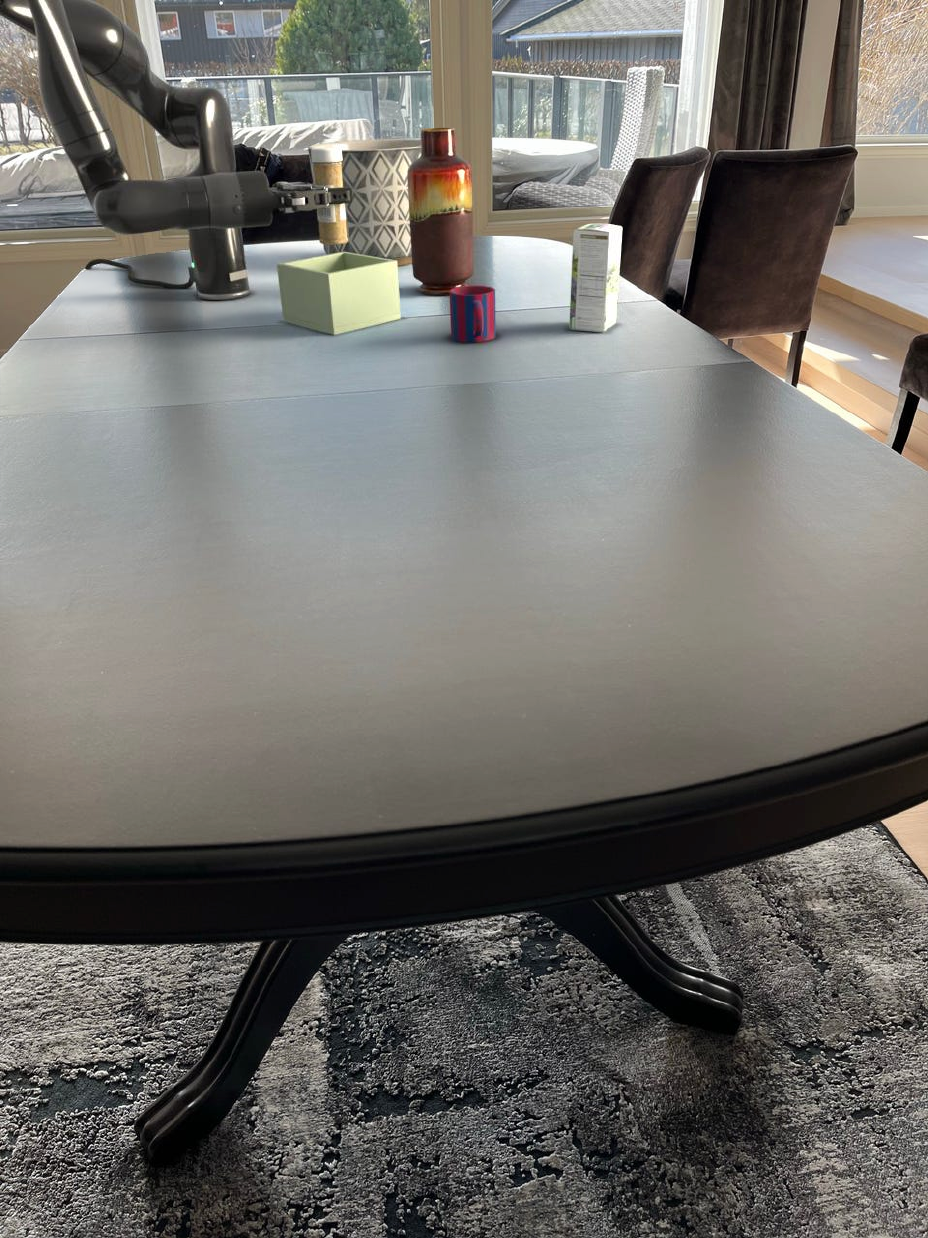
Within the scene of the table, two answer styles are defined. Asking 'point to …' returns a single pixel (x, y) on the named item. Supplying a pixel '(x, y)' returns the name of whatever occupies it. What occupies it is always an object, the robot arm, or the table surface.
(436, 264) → the vase
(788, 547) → the table surface
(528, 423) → the table surface
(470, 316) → the mug
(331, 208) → the sprinkles bottle
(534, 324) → the table surface
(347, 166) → the planter
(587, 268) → the syrup box
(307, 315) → the open storage bin
